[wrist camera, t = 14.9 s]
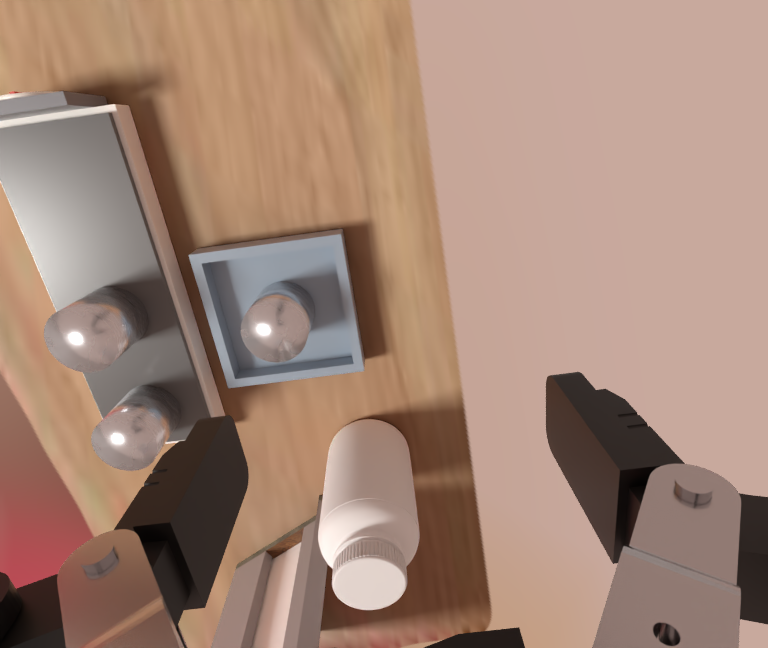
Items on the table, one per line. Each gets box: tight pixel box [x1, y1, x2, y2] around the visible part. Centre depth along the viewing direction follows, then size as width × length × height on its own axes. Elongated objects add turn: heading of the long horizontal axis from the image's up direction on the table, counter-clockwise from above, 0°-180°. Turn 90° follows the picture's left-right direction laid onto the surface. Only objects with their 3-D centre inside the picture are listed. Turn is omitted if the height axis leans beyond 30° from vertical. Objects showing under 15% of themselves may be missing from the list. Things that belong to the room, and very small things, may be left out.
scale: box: [0, 91, 225, 444], centre depth 37 cm, size 29×10×5 cm, turn 8°
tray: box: [188, 229, 365, 388], centre depth 39 cm, size 12×12×2 cm
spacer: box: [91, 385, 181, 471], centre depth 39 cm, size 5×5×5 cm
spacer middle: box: [44, 286, 148, 373], centre depth 36 cm, size 5×5×5 cm
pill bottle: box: [318, 419, 420, 610], centre depth 40 cm, size 8×8×15 cm
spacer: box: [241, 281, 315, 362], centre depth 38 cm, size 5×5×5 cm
